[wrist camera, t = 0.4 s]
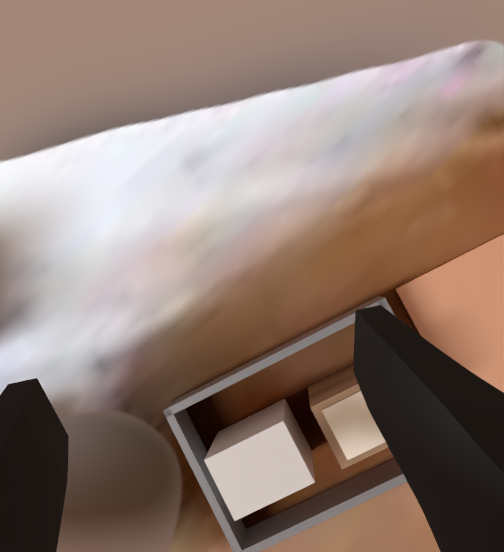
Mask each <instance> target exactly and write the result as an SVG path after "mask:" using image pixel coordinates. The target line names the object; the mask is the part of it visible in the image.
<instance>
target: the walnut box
mask: <svg viewBox="0 0 504 552" xmlns="http://www.w3.org/2000/svg"><path fill="white" fill-rule="evenodd" d="M308 394H309V402H310V408H311V410H312V412H313V414H314V416H315V418H316V420H317V422H318V424H319V425H320V427H321V429H322V431H323V433H324V435H325V437H326V439H327V441H328V443H329V445H330V447H331V449H332V451H333V452H334V454H335V456H336V458H337V460H338V462H339V464H340V466H341V468H342V469H344V468H346V467H348V466H350V465H352V464H355V463H357V462H359V461H361V460H363V459H365V458H367V457H369V456H371V455H373V454H375V453H377V452H379V451H382V450H384V449H386V448H388V445H387V443H386V441H385V440H384V438H383V436H382V434H381V432H380V430H379V428H378V427H377V425H376V423H375V421H374V419H373V417H372V415H371V413H370V412H369V409H368V407H367V405H366V402H365V400H364V397H363V395H362V392H361V390H360V387H359V385H358V382H357V379H356V377H355V374H354V364H353V365H351V366H349V367H347V368H345V369H343V370H341V371H339V372H337V373H335V374H333V375H331V376H329V377H327V378H325V379H323V380H321V381H319V382H317V383H315V384H313V385H311V386H309V387H308Z"/></svg>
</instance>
